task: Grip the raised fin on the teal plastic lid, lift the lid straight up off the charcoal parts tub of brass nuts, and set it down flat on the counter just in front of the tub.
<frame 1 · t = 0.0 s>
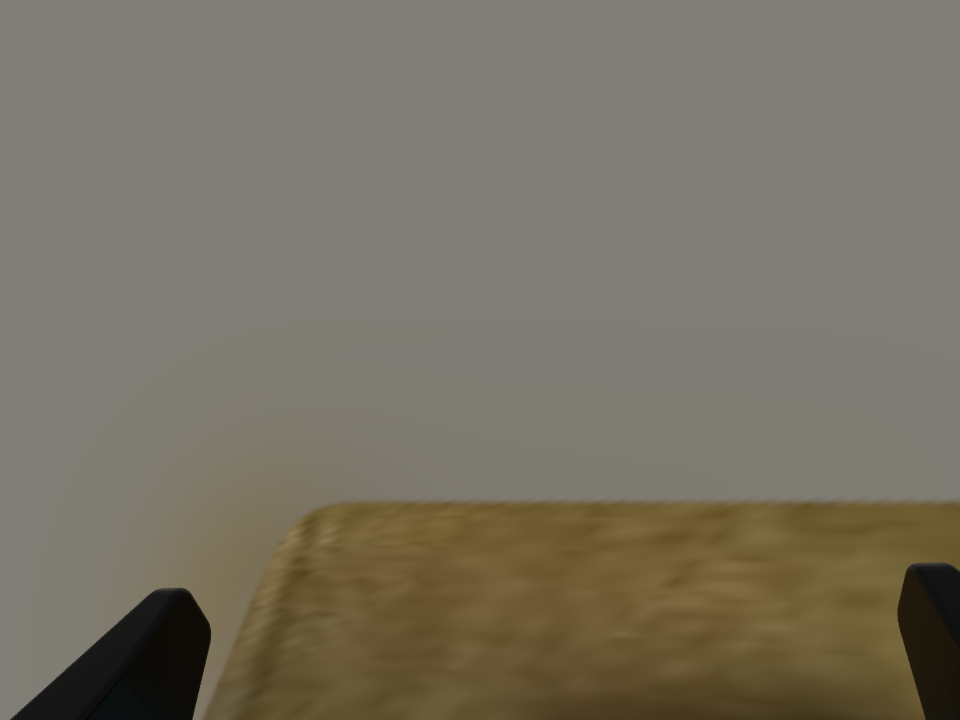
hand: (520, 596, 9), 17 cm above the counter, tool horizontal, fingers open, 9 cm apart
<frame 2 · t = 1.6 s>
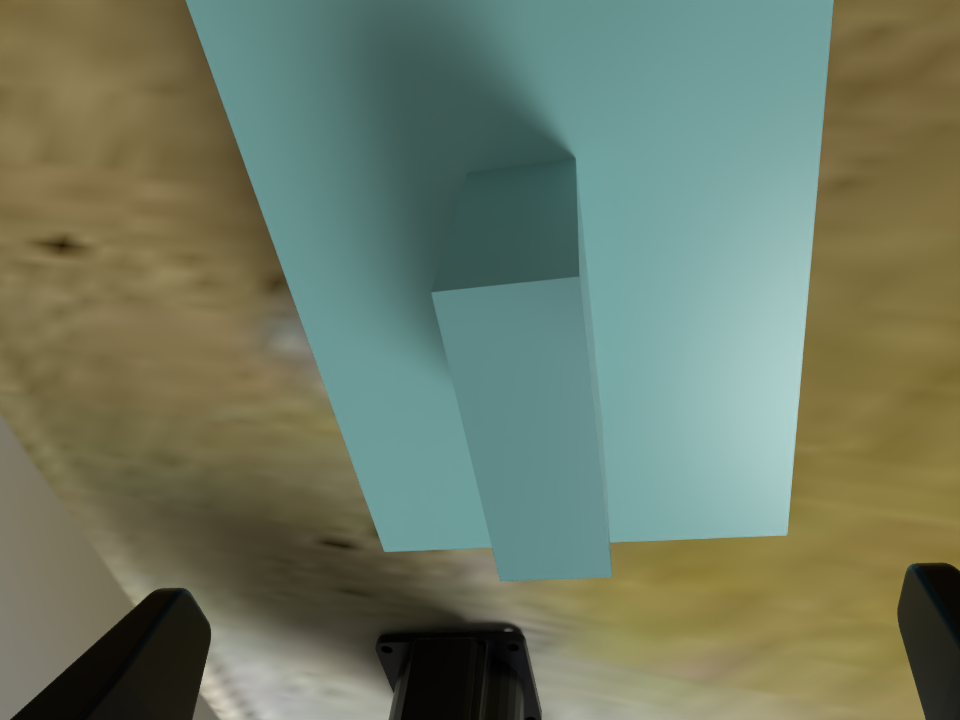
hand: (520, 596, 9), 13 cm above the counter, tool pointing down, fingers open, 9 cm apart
lid: (544, 255, 17), point 3 cm above the counter, touching tub
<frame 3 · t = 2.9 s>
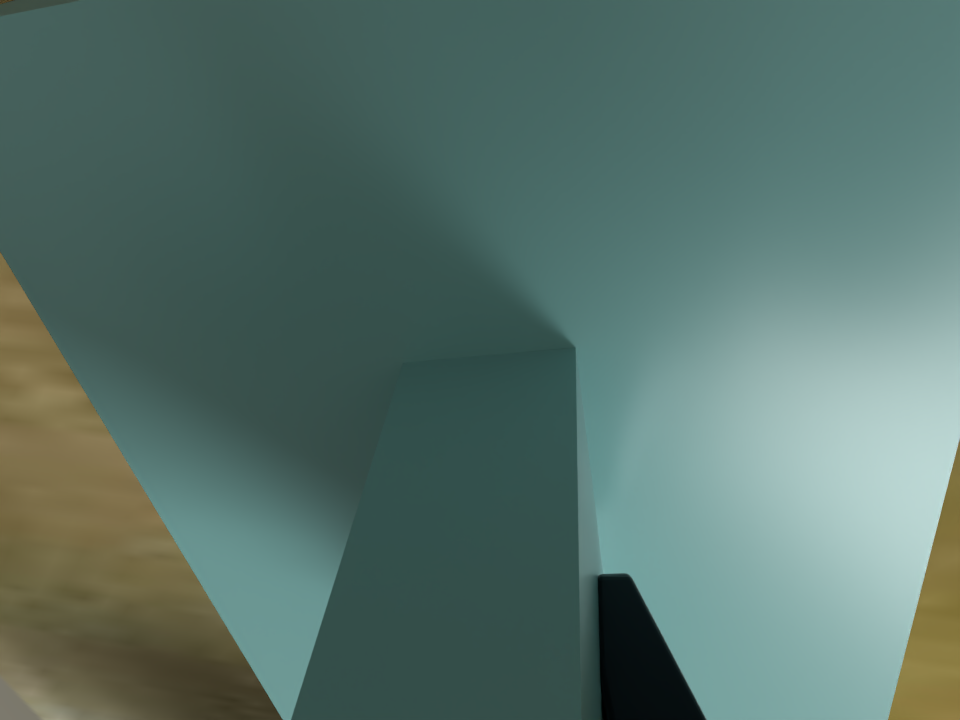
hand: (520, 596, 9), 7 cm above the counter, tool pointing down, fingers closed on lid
lid: (531, 424, 12), point 3 cm above the counter, touching gripper, tub
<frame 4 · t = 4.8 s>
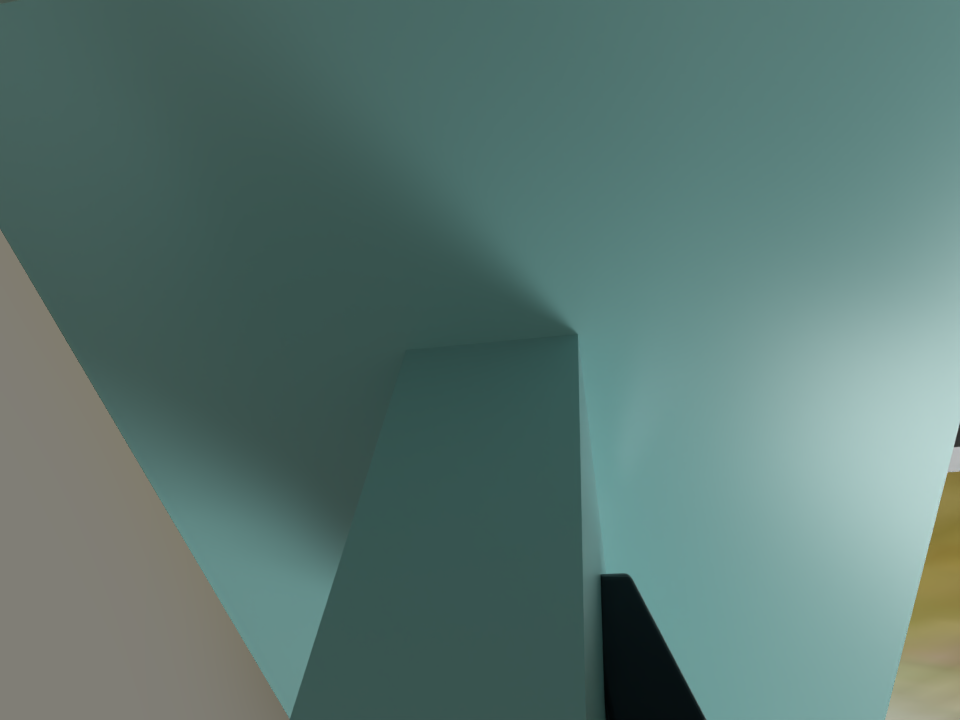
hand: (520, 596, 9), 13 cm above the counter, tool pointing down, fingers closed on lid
lid: (532, 415, 12), point 10 cm above the counter, touching gripper
tub: (907, 138, 18), on the counter
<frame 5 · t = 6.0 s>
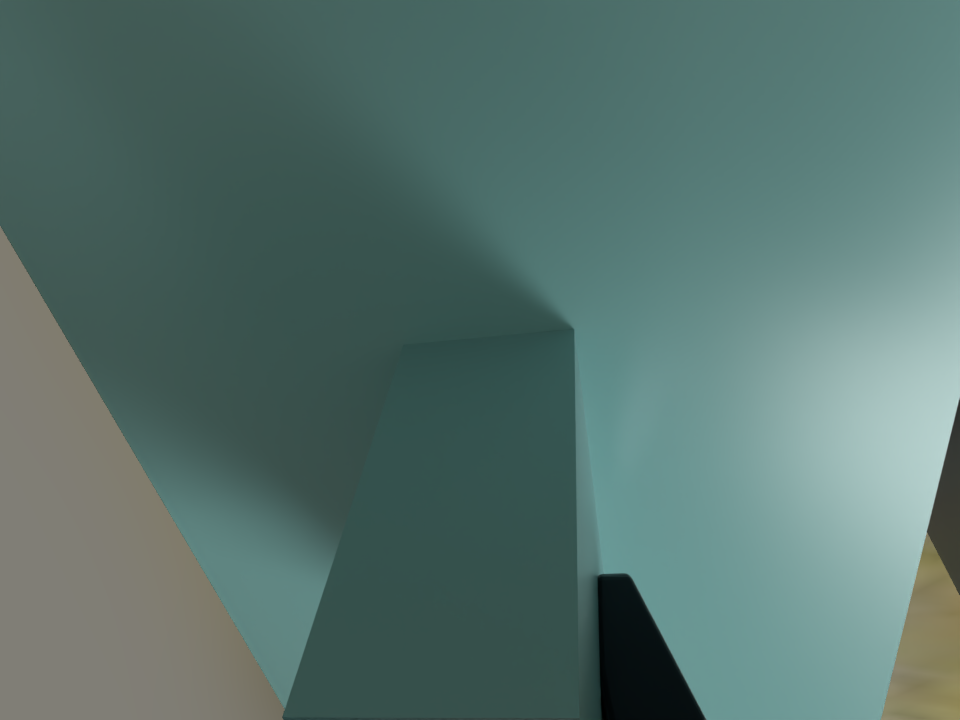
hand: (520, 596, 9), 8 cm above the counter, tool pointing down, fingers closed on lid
lid: (530, 411, 12), point 4 cm above the counter, touching gripper
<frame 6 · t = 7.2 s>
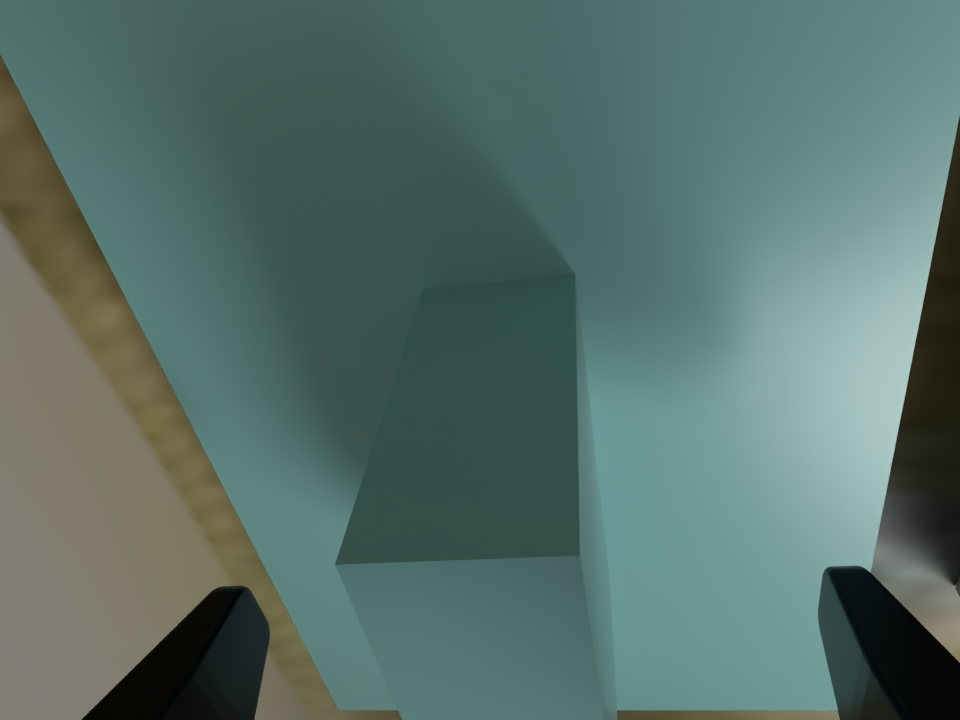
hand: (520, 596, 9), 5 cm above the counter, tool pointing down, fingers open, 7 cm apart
lid: (534, 365, 13), on the counter
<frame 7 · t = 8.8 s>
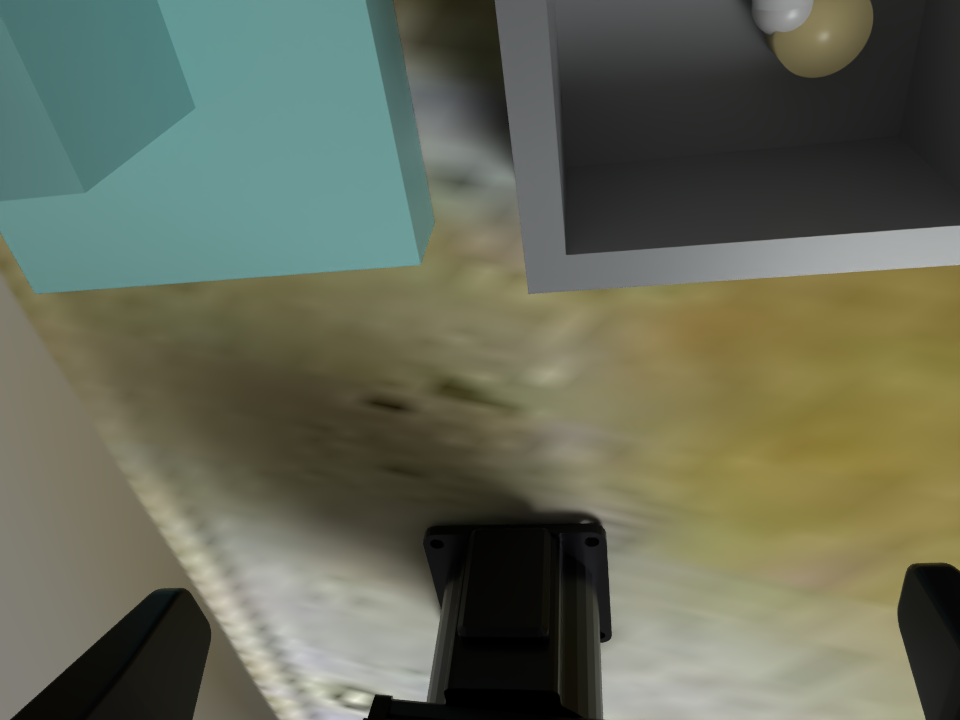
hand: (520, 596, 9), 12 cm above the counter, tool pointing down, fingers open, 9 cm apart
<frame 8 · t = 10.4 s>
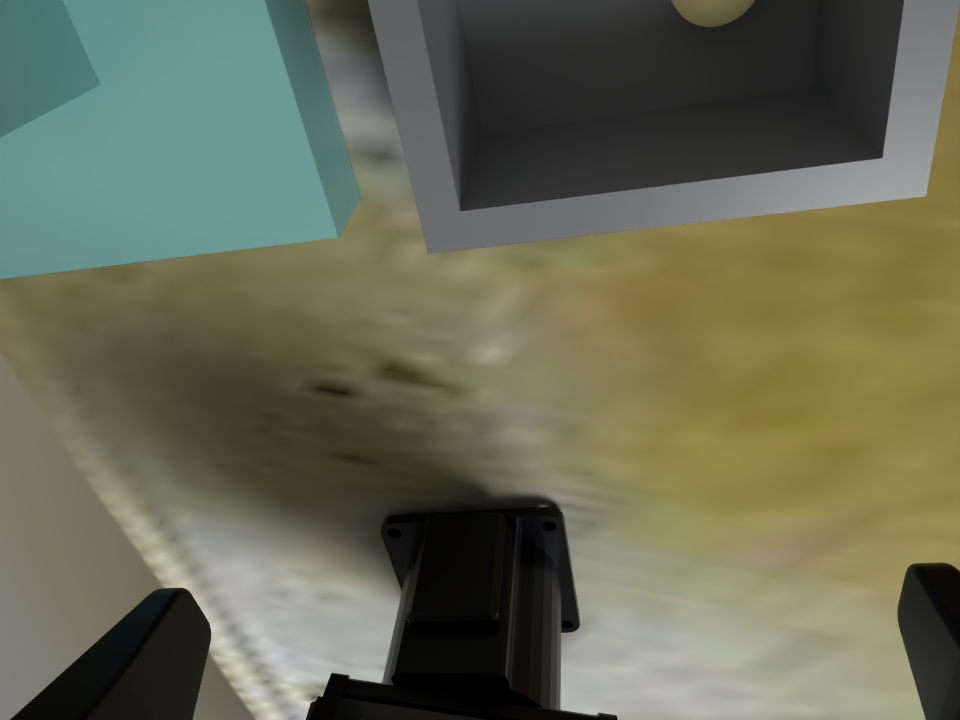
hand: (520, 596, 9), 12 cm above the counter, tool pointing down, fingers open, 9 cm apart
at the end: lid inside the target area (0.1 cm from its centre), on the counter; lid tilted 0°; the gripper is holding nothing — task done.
